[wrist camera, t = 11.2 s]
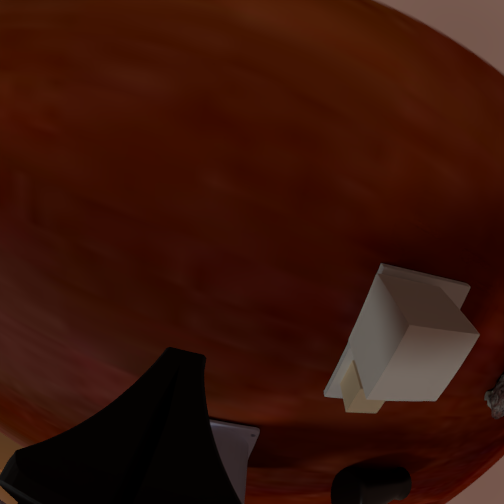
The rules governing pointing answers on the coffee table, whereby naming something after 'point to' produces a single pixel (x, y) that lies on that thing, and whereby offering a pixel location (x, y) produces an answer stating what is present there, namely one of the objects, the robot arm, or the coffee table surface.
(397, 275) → the grey board
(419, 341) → the beige block
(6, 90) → the coffee table surface
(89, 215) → the coffee table surface
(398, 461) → the coffee table surface
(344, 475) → the coffee pot
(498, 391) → the mineral rock
